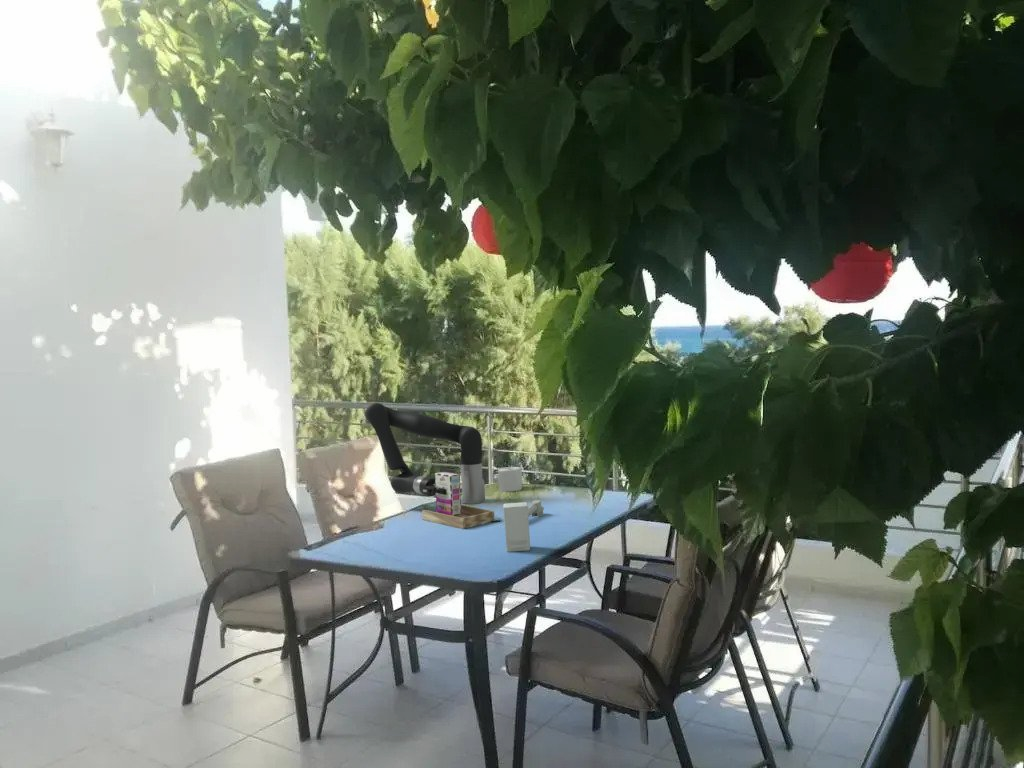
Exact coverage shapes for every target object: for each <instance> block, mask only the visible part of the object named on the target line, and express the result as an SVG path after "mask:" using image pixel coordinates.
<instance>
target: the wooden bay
mask: <svg viewBox="0 0 1024 768" xmlns="http://www.w3.org/2000/svg"><path fill="white" fill-rule="evenodd" d="M421 515H422V521H425V520H426V522H429V523H430V522H431V523H435V524H439V525H444V526H447V527H453V528H455V529H460V528H461V529H460V530H466V529H469V527H470V528H473V526H474V527H477V525H478V526H481V525H480V524H482V525H485V524H484V523H486V524H488V523H487V522H490V523H492V522H491V521H494V520H495V519H496V518H495V510H489V509H484V508H481V507H480V508H478V507H475V506H468V505H464V504H461V515H456V516H452V515H447V514H442V513H437V511H432V510H427V509H421ZM495 521H496V520H495ZM495 521H494V522H495ZM465 528H466V529H465Z"/></svg>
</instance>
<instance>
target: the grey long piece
mask: <svg viewBox="0 0 1024 768" xmlns="http://www.w3.org/2000/svg"><path fill="white" fill-rule="evenodd" d="M527 508H528V518H529V517H530V516H531V517H533V516H539V517H541V516H540V515H542V516H543V515H544V510H545V509H544V506H542V502H541V500H539V499H535V500H533V501H532V502H531V504H529V506H527Z"/></svg>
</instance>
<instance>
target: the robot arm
mask: <svg viewBox="0 0 1024 768" xmlns="http://www.w3.org/2000/svg"><path fill="white" fill-rule="evenodd" d="M364 414H365V415H364V416H365V418H366V420H367V421H368V422H369V423H370V425H371V427H372V428H373V429H374V432H375V433H376V436H377V437H378V440H379V443H380V447H381V450H382V453H383V456H384V459H385V461H386V463H387V467H388V469H389V470H390V471H397V470H398V471H399V472H400V474H398V475H396V476H393V477H392V479H391V481H390V485H391V488H392V489H393V490H394V491H395V492H397V493H417V494H420V495H422V496H428V497H434V496H436V494H443V495H446V494H447V493H446V489H443V488H439V487H438V486H436V485H435V477H430V476H425V475H421V476H420V475H414V473H413V472H412V470H411V469H410V467H409V466H408V464H407V463H406V462H405V460H404V457H403V454H402V453H401V451H400V448H399V446H398V443H397V441H396V439H395V437H394V433H393V432H392V429H391V427H394V428H396V429H399V430H402V431H404V432H407V433H409V434H413V435H415V436H419V437H424V438H429V439H439V440H440V439H441V440H446V441H447V440H448V441H451V442H455V443H457V444H459V445H460V470H461V471H460V472H461V473H460V479H461V494H462V498H461V499H462V503H463V504H467V505H468V504H470V505H475V504H476V505H477V504H481V503H483V502H485V501H486V491H485V490H486V489H485V479H483V464H482V463H483V462H482V458H483V444H482V441H483V439H482V435H481V432H480V431H479V430H478V429H477V428H475V427H473V426H467V425H459V424H453V423H450V422H447V421H445V420H442V419H439V418H437V417H433V416H430V415H425V414H422V413H417V412H411V411H410V412H409V411H400V410H397V409H394V408H390V407H388V406H385V405H384V404H382V403H379V402H373V403H371V404H369V405H368V406H367V407H366V409H365V413H364Z"/></svg>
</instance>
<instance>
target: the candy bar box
mask: <svg viewBox="0 0 1024 768" xmlns="http://www.w3.org/2000/svg"><path fill="white" fill-rule="evenodd" d="M434 478H435V485H436V486H438V487H439V488H443V489H446V493H447V494H446V495H443V494H436V495H435V503H436V505H435V507H436V512H437V513H442V514H447V515H452V516H456V515H461V505H462V503H461V502H462V498H461V473H460V474H459V473H453V472H448V471H441V472H440V471H439V472H435V473H434Z"/></svg>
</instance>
